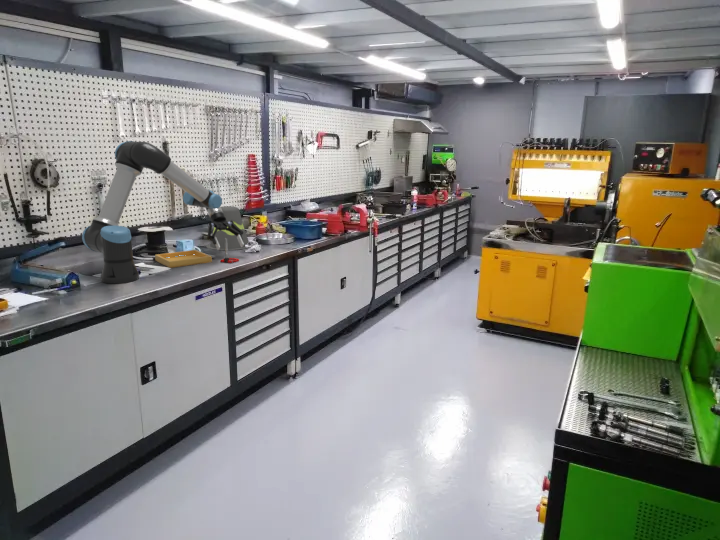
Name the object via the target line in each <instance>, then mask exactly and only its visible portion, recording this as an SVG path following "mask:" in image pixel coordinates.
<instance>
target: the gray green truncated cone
mask: <svg viewBox="0 0 720 540" xmlns="http://www.w3.org/2000/svg"><path fill="white" fill-rule="evenodd" d="M220 207H221V209H222V211H223V213H224V215H225V218H226V221H227V222H230V221H231V220H232V221H233V223H234V224H235V225H236V226H237V227H238V228H240V229H241V230H242V231H243V232H244V233H243V235H242V238H243V240H242V241H243V243H244V245H243V247H241V246H240V244H239V241H238V239H237V236H236V235H234V234H233V233H231V232H230V231H227V230H217V232H216V234H215V236H214V237H216V238H217V240H218V243H219V245H220V249H219V250H217V248H216V245H215V244H213V242H212V241H211V240H210V243H209V244H207V245H206V246H205V247H206V248H207V249H209V250H214V251H225V242H226V238H227V242H228V251H236V250H237V251H238V250H245V244H247V243H248V242H249V239H248V235H247V233H246V230H245V227H244V224H243V219H242V215H241V212H240V209H239V208H238V206H237V207H236V206H232V205H231V206H227V205H226V206H220ZM228 225H229V224H228ZM227 228H228V227H227ZM215 229H216V228H215V227H214V226H213V230H212V232H211V236H212V235H213V233H214V231H215ZM249 243H250V242H249Z"/></svg>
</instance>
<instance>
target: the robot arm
mask: <svg viewBox="0 0 720 540" xmlns="http://www.w3.org/2000/svg"><path fill="white" fill-rule="evenodd" d="M114 157H115V163H114V166H115V168H116V170H115V173H114V175H113V178H112V181H111V183H110V185H109V189H108V191H107V193H106V196H105V199H104V201H103V204H102V205H101V208H100V211H99V214H98V216H97V217H95V218H93V219H92V221H91V223H90V225H88V226H87V227H85V229H83V231H82V234H81V239H82V240H81V241H82V242H83V245H84V246H85V247H86V248H87V249H89V250H91V251H92V252H95V253H101V254H102V257H103V267H102V271H101V275H100V280H101V282H102V283H104V284H126V283H130V282H135V281H137V280H139V278H140V274H139V270H138V269H137V267H136V264H135V262H134V254H133V243H132V242H133V241H132V234H131V230H130V229H129V228H128V227H126V226H123V225H120V224H119V222H120V220H121V217H122V214H123V213H124V209H125V207H126V204H127V202H128V199H129V196H130V194H131V191H132V188H133V186H134V183H135V181H136V178H137V177H138V176H141V175H142V173H143V171H144V168H145V169H148V170H150V171H153V172H155V173H156V174H158V175H162V176H164V178H166V179H168V180H169V181H171V182H172V183H173V184H175V185H176V186H177V187H179V188H180V189H181V190H183V191H184V193H183V196H182V197H183V198H182V201H183V202H184V204H185V205H187V206H192V207H199V208H204V209H206V212H207V214H208V216H209V218H210V220H211V221H208V223H207V227H208V230H207V235H206V236H207V237H206V239H207V240H209V241H210V242H211V241H212V242H213V244H215V245H216V248H217V250H216V251H220V250H219V249H220V245H219V243H218V240H217V238H216V237H214V236H215V234H216V232H217V230H227V231H230V232H231V233H233V234H234V235H236V236H237V239H238V241H239V244H240V246H241V247H243V245H244V243H243V241H242V240H243V238H242V235H243V233H244V232H243V231H242V230H241V229H240V228H238V227H237V226H236V225H235V224H234V223H233V221H232V220H231V221H230V222H227V221H226V218H225V215H224V213H223V211H222V209H221V207H222V205H223V199H222V196H221V195H220V194H217V193H215V192H214V191H213V190H209V189H208V188H206V187H205V186H204V185H203V184H202V183H200V182H199V181H197V179H195V178H193V176H191V175H189V174H188V173H187V172H186V171H185V170H184V169H182V168H181V167H179V166H178V165H177V164H176V163H174V161H172V158H171V157H170V156H169V155H167V153H165V152H164V151H162V150H161V149H160V148H158V147H157V146H155V145H154V144H152V143H150V142H147V141H134V140H129V141H123V142H121V143H119V144H118V146H116V148H115V151H114ZM228 224H229V225H228ZM214 227H215V228H216V229H215V231H214V233H213V232H212V231H213V230H212V229H213V228H214ZM227 227H228V228H227ZM212 233H213V235H212Z"/></svg>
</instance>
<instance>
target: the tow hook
mask: <svg viewBox="0 0 720 540" xmlns="http://www.w3.org/2000/svg"><path fill="white" fill-rule="evenodd" d="M224 251H225V253H224V258H222V259H220V263H225V264H233V263H238V262H239V261H240V259H239V258H238V257H237V258H236V257H235V258H234V257H229V250H228V242H227V238H226V242H225V250H224Z"/></svg>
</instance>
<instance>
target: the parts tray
mask: <svg viewBox="0 0 720 540" xmlns="http://www.w3.org/2000/svg"><path fill="white" fill-rule="evenodd" d="M193 254H195V255H193ZM179 255H184V256H179ZM185 255H186V256H185ZM175 256H178V257H175ZM166 257H170V258H166ZM154 258H155V259H154V261H155V262H157V263H159V264H161V265H163V266H165V267H168V269H172V268H180V267H187V266H195V265H202V264H209V263H210V264H211V263H213V257H212V256H211V255H209V254H207V253H204V252H202V251H199V250H197V249H193V250H192V249H191V250H184V251H176V252H166V253H160V254H159V253H158V254H157V253H156V254H155V255H154Z"/></svg>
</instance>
